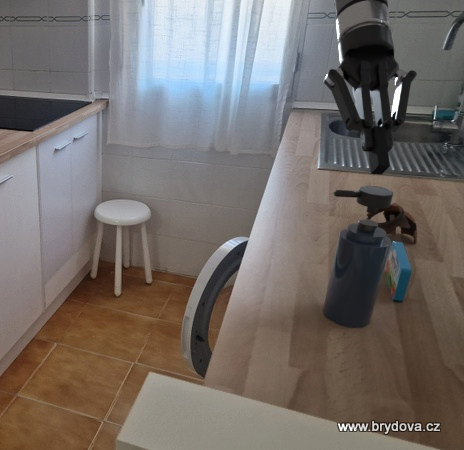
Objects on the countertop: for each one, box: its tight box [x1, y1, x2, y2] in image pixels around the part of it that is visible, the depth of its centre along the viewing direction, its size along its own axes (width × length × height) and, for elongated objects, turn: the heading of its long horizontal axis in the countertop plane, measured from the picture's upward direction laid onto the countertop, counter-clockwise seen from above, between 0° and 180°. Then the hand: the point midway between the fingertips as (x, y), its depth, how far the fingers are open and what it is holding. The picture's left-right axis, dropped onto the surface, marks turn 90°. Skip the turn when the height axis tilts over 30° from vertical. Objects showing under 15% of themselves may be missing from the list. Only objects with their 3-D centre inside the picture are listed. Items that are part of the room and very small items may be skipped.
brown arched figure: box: [366, 202, 418, 245], centre depth 115 cm, size 12×10×8 cm
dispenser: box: [322, 218, 392, 329], centre depth 84 cm, size 7×7×16 cm
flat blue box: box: [384, 240, 413, 303], centre depth 95 cm, size 12×2×6 cm, turn 157°
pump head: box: [333, 185, 394, 213], centre depth 80 cm, size 8×4×3 cm, turn 81°
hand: (380, 169), depth 78 cm, fingers closed
